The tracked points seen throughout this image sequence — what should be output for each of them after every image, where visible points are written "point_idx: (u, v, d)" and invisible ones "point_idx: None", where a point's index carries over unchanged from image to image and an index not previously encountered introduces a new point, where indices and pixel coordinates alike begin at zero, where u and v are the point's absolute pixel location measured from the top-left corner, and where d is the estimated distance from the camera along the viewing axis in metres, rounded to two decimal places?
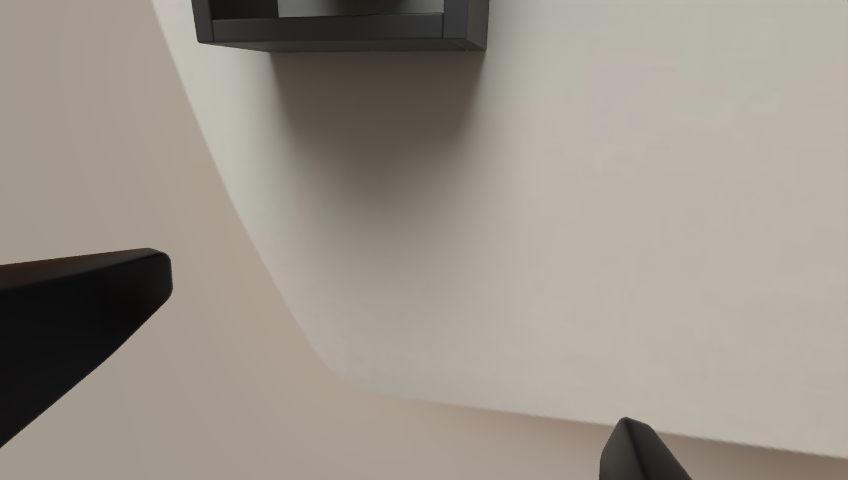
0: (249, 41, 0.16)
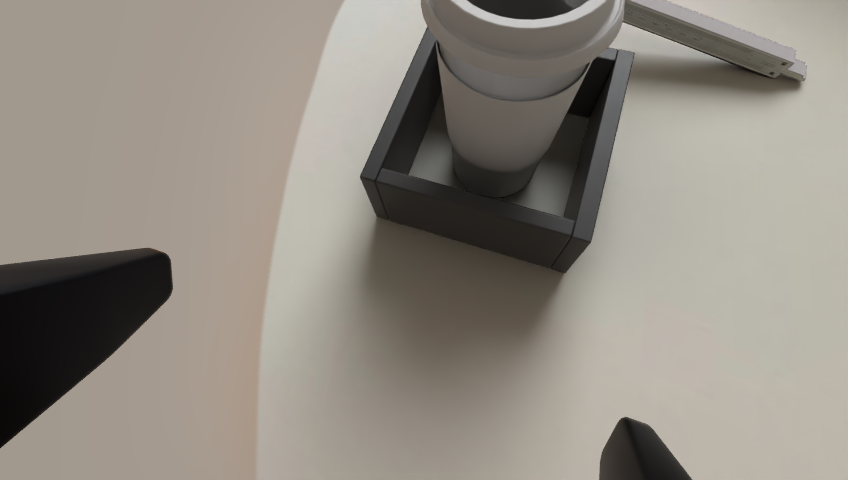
0: (407, 190, 0.19)
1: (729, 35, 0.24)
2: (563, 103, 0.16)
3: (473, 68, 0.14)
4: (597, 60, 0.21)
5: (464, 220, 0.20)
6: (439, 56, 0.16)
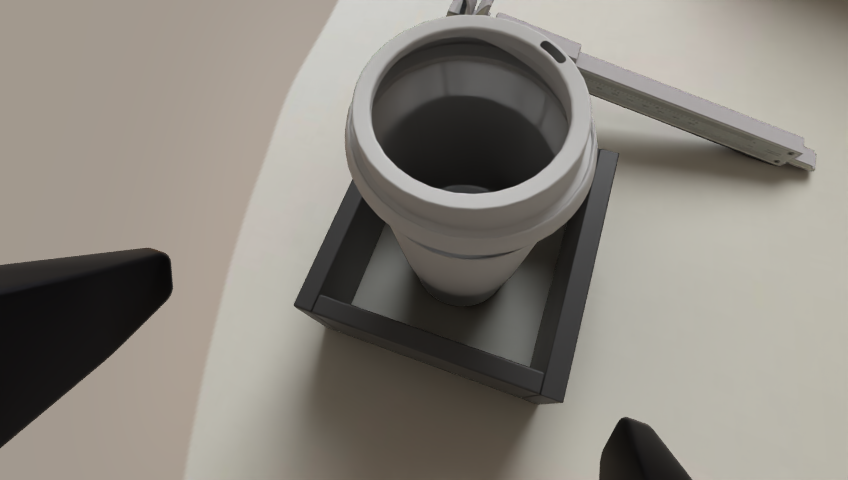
0: (347, 325, 0.16)
1: (728, 121, 0.21)
2: (526, 250, 0.13)
3: None
4: None
5: (417, 354, 0.17)
6: None
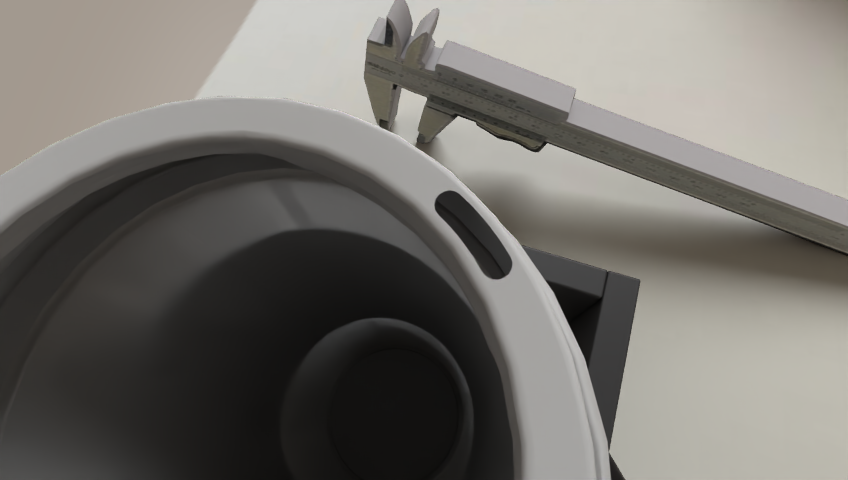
0: None
1: (805, 205, 0.14)
2: None
3: None
4: (567, 290, 0.11)
5: None
6: None
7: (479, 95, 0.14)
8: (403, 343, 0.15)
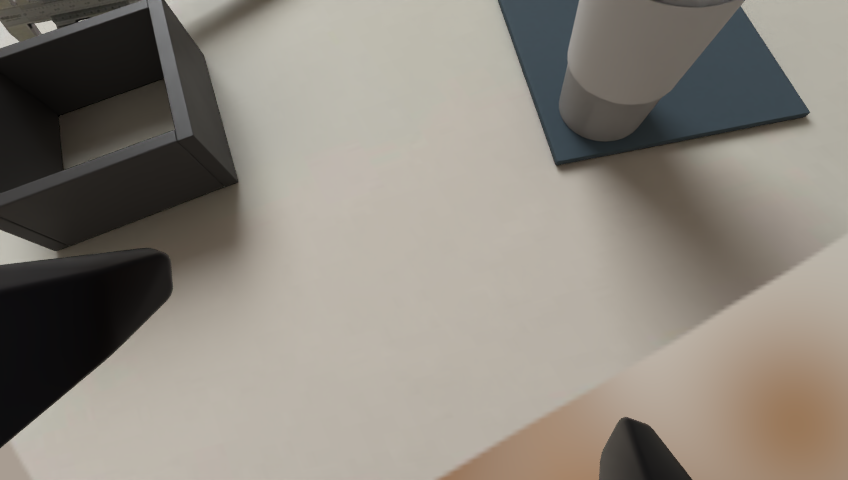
0: (21, 198, 0.19)
1: None
2: (728, 16, 0.15)
3: None
4: (136, 15, 0.24)
5: (104, 192, 0.21)
6: None
7: None
8: None
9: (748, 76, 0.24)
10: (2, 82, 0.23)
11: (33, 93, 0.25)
